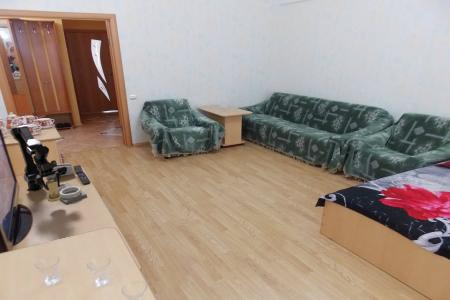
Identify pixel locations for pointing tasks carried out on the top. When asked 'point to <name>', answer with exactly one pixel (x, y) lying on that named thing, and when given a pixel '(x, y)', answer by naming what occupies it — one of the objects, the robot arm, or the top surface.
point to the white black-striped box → (69, 166)
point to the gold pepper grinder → (53, 191)
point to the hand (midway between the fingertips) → (53, 188)
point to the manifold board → (70, 193)
